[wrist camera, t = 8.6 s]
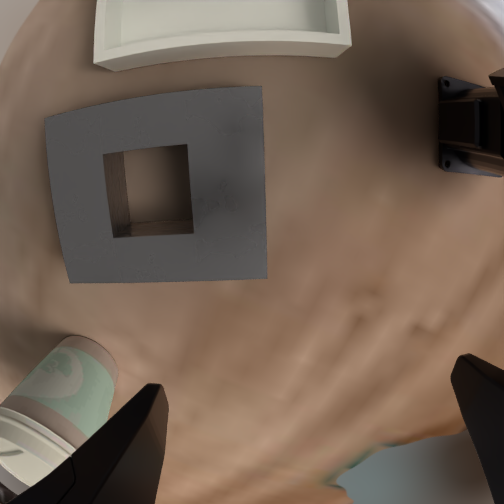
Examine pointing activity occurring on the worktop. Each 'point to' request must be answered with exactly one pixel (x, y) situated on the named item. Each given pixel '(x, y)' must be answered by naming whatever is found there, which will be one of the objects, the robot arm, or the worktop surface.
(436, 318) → the worktop surface
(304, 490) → the worktop surface
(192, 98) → the block
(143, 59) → the parts tray
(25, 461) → the coffee cup
